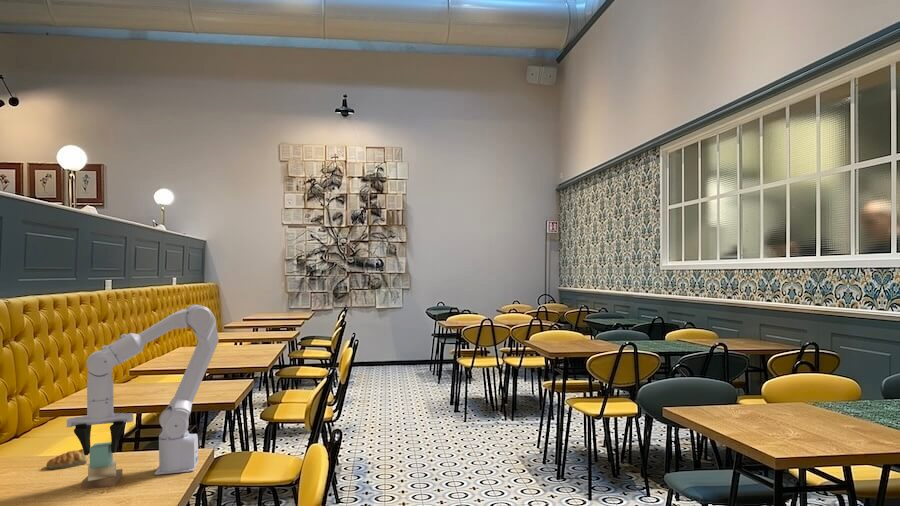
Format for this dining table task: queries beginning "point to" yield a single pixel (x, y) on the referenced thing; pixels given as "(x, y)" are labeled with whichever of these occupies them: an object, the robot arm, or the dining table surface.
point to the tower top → (102, 472)
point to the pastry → (68, 460)
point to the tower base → (102, 481)
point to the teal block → (101, 455)
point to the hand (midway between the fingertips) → (100, 452)
